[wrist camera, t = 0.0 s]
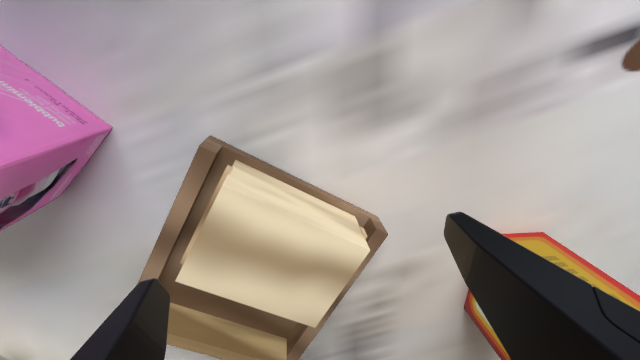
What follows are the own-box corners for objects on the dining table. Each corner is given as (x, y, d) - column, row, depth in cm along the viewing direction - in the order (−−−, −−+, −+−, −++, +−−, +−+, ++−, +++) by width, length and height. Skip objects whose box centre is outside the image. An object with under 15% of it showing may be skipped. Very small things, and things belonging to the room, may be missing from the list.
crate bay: (291, 341, 32) (291, 378, 28) (138, 293, 27) (115, 329, 23) (377, 216, 27) (392, 241, 23) (209, 135, 22) (195, 149, 19)
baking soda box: (483, 235, 29) (687, 413, 14) (542, 232, 30) (796, 399, 15) (463, 307, 33) (611, 511, 18) (517, 304, 33) (703, 496, 18)
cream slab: (312, 285, 28) (317, 329, 23) (192, 239, 24) (170, 280, 20) (358, 216, 25) (374, 250, 21) (232, 156, 22) (218, 181, 18)
